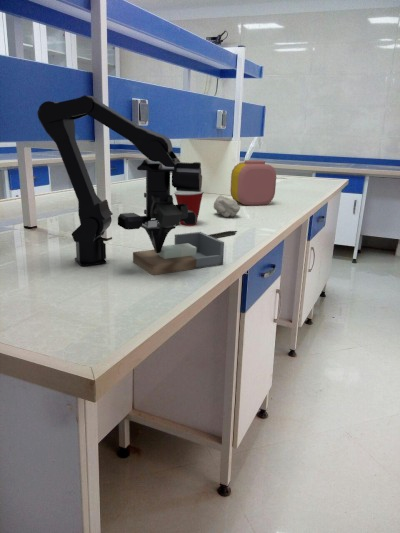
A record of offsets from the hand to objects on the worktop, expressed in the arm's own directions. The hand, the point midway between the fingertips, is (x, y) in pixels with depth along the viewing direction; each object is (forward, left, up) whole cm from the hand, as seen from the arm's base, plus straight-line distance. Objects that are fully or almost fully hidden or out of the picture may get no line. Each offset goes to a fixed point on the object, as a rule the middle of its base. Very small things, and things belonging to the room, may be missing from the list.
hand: (157, 252), depth 112 cm
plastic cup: (+31, +41, -4) cm, 51 cm away
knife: (+28, +21, -4) cm, 35 cm away
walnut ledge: (+2, +1, -4) cm, 4 cm away
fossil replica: (+52, +48, -4) cm, 71 cm away
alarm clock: (+79, +67, -4) cm, 103 cm away
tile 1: (+3, 0, -1) cm, 3 cm away
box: (+12, +1, -4) cm, 13 cm away
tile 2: (+8, 0, -1) cm, 8 cm away
